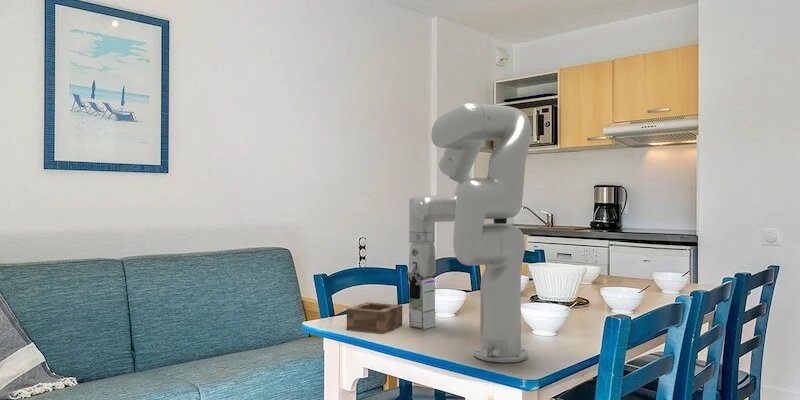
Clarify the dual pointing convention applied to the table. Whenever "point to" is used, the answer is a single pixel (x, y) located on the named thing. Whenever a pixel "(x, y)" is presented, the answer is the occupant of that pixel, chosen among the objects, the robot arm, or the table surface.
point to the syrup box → (423, 305)
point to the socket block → (374, 317)
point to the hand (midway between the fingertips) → (421, 295)
